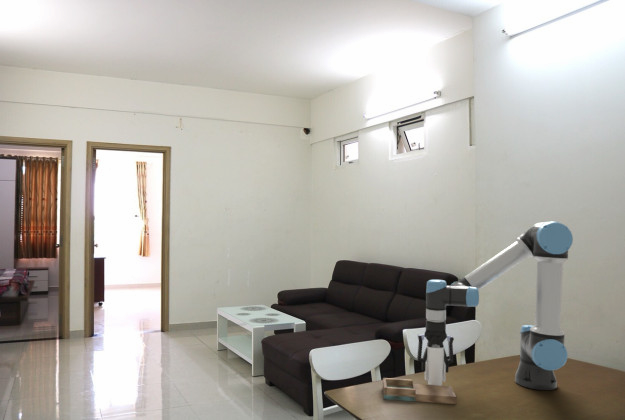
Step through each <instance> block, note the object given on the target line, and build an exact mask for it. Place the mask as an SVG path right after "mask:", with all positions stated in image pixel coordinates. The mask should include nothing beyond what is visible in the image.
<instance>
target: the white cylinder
mask: <svg viewBox="0 0 625 420" xmlns="http://www.w3.org/2000/svg"><path fill="white" fill-rule="evenodd" d="M426 346H427V345H426ZM427 347H428V346H427ZM427 347H425V349H426V348H427ZM444 349H445V346H444V347H443V348H440V345H437V344H435V345H432V346H431V347H428V349H427V360H426V362H427V364H428V375H427V385H440V386H443V380H442V375H443V365H444V363H445V361H444Z"/></svg>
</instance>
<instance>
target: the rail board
mask: <svg viewBox="0 0 625 420" xmlns="http://www.w3.org/2000/svg"><path fill="white" fill-rule="evenodd" d="M382 393H383V400H390V401H392V400H393V401H404V402H405V401H406V402H423V403H436V404H452V405H453V404H454V405H456V404H457V395H456V394H455V392H454V389H453V388H452V386H450V385H441V386H440V385H429V384H424V383H423V384H421V383H414V380H413V379H409V378H408V379H407V378H406V379H404V378H394V377H393V378H392V377H391V378H390V377H389V378H388V377H383V378H382Z"/></svg>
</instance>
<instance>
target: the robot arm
mask: <svg viewBox="0 0 625 420" xmlns="http://www.w3.org/2000/svg"><path fill="white" fill-rule="evenodd" d="M573 238H574V237H573V234H572V231H571V230H570V228H569V227H568V226H567V225H566V224H564V223H562V222H559V221H554V220H552V221H540V222H537V223H535V224H533V225H532V226H530V227H529V228H528V229H527V230H526V231H524V232H523V233H522V234H521V235H518V236H517V237H516V239H515V242H513V243H512V244H511V245H509V246H507V247H505V248H504V249H502V251H500V252H499V253H497V254H496V255H493V256H492V257H491V258H490V259H488V260H486V261H485V262H484V263H482V264H481V265H479V266H478V267H477V268H475V269H474V270H472V271H471V272H469V273H468V274H466V275H465V276H463V277H462V278H460V279H459V280H458V281H453V283H451V284H450V285H447V281H446V280H443V279H429V280H428V281H426V290H425V291H426V292H425V300H426V301H425V304H426V305H425V306H426V307H425V318H426V320H425V331H424V333H423V334H420V333H419V334H417V339H418V343H417V344H418V346H417V358H416V359H417V361H418V362H420V363H421V371H422V372H424V380H425V381H426V382H428V364H427V349H428V347H431V346H432V345H435V344H437V345H440V348H443V347H444V365H443V375H442V383H443V382H444V383H445V382H446V381H447V379H446V376H447V375H446V373H449V367H450V364H453V363H454V347H453V345H454V341H455V340H454V339H455V338H454V337H453V335H448V334H447V329H446V324H447V323H446V320H447V306H455V307H468V308H469V307H473V308H474V307H477V306H479V303H480V292H479V291H480V290H481V289H483V288H484V287H486V286H487V285H489V284H490V283H491V282H493V281H495V280H496V279H497V278H499V277H500V276H502V275H504V274H505V273H506V272H508V271H509V270H510V269H511V270H512V268H514V267H515V266H517V265H518V264H520V263H521V262H523V261H525V260H526V259H528V258H534V260H536V262H537V263H536V265H537V266H536V286H535V287H536V289H535V292H536V293H535V306H534V307H535V311H534V325H532V324H531V325H530V324H525V325H524V324H523V325H522V326H521V327H520V332H519V334H520V341H519V342H520V344H519V345H520V350H519V351H520V352H519V355H520V356H519V364H518V366H517V367H518V368H517V369H516V372H515V374H514V375H515V376H514V381H515V383H516V384H518V385H519V386H521V387H525V388H527V389H531V390H537V391H539V390H540V391H553V390H555V389H557V388H558V385H557V384H558V382H557V381H558V380H557V378H556V375H555V372H554V371H556V370H559V369H560V368H562V367H564V365H565V364H566V363H567V360H568V358H569V357H568V356H569V355H568V350H567V348H566V346H565V335H566V334H565V332H564V331H563V330H562V329H561V328H562V327H561V320H562V319H561V318H562V314H561V313H562V295H563V294H562V292H563V275H564V274H563V270H564V263H565V262H566V261H567V260H568V259H569V250H570V248H571V246H572V245H573V241H574V239H573ZM425 339H426V340H427V343H426V347H427V346H428V347H427V348H426V347H425V350H424V352H423V341H424V340H425ZM445 340H446V341H447V343H448V345H447V346H448V356H447V352H446V350H445V346H444V342H445ZM422 353H423V354H422Z"/></svg>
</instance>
